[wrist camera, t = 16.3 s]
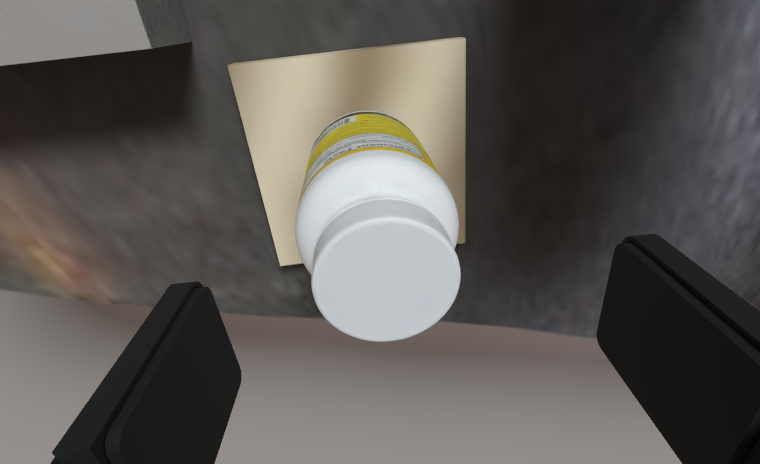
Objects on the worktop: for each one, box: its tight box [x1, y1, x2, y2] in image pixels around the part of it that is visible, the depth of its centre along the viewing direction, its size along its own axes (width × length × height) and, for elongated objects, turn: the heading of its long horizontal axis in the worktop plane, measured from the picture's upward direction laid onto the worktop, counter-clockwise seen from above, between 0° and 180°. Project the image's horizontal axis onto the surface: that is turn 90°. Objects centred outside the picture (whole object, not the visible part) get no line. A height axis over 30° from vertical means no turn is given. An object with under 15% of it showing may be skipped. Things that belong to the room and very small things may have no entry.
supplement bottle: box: [295, 111, 461, 342], centre depth 15 cm, size 5×5×10 cm
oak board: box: [228, 37, 466, 266], centre depth 20 cm, size 10×10×1 cm
